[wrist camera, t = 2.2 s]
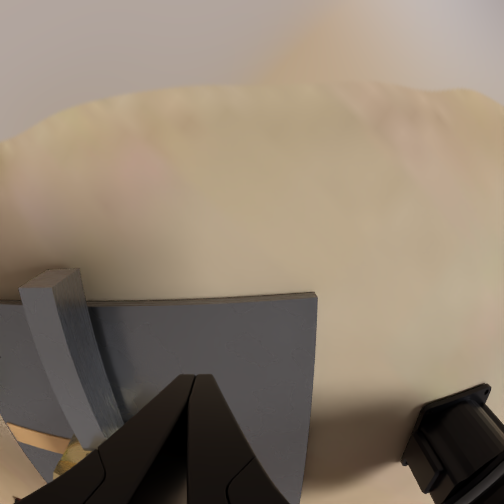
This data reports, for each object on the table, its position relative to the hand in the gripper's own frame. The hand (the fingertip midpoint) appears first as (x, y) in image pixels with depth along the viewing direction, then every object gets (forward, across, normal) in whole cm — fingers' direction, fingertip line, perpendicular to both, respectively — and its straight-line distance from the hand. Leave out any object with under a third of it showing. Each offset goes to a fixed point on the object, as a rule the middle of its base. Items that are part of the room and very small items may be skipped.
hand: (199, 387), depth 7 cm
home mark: (+6, +14, +11) cm, 19 cm away
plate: (+6, +7, +11) cm, 14 cm away
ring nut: (+5, +7, +7) cm, 11 cm away
